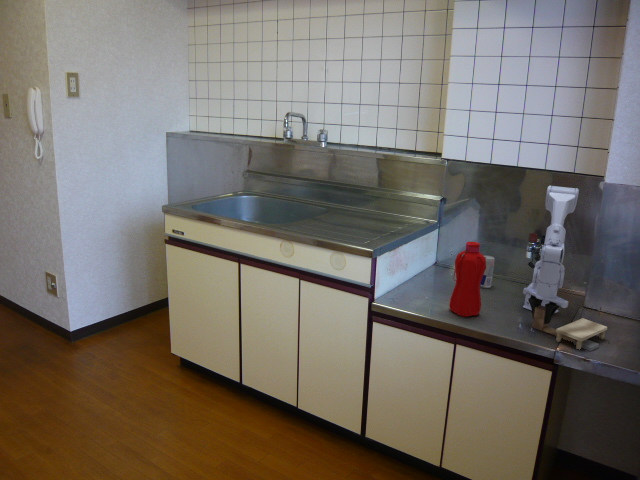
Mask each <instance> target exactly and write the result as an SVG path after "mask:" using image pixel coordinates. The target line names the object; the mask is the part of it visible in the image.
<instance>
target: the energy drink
mask: <svg viewBox="0 0 640 480" xmlns="http://www.w3.org/2000/svg"><path fill="white" fill-rule="evenodd" d="M482 255H483V254H482ZM483 256H484V257H485V258H486V270H485V272H484V275H483V277H482V280H481V283H480V289H490V288H492V283H493V276H494V269H495V263H496V262H495V257H494V256H491V255H488V254H487V255H483Z"/></svg>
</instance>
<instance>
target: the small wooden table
mask: <svg viewBox="0 0 640 480" xmlns="http://www.w3.org/2000/svg"><path fill="white" fill-rule="evenodd" d="M607 330H608V326H606V325H603V324H601V323H598V322H594V321H592V320H589V319H586V318H584V317H582V318H579V319H577V320H575V321H573V322H570V323H567V324H565V325H562V326H560V327H558V328H556V332H557V336H555V337H556V338H555V342H558V343H561V342H562V338H561V337H562V334H563V335H566V336H568V337H571V338H573V339H576V340H577V344H576V346H575V350H577V349H579V350H578V351H581V350H582V348H581V346H582V341H584V340H586V339H587V340H589V339H590V338H592V337H594V336H596V335H598V339H600V340H604V339H605V335H606V331H607ZM580 349H581V350H580Z"/></svg>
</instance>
